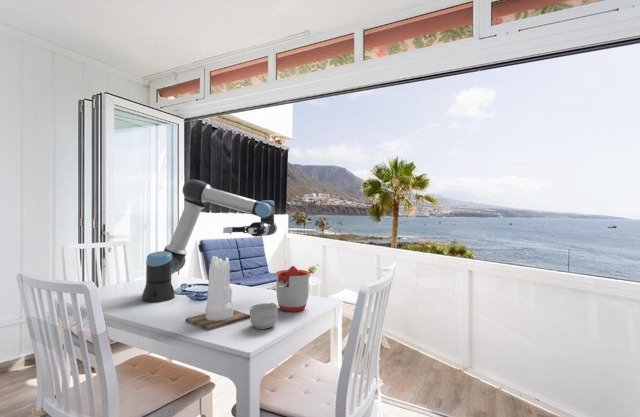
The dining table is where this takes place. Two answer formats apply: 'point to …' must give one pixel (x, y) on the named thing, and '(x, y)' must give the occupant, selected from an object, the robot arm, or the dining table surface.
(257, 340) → the dining table surface
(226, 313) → the decorative vase
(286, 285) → the citrus juicer
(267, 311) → the teacup
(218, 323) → the board
